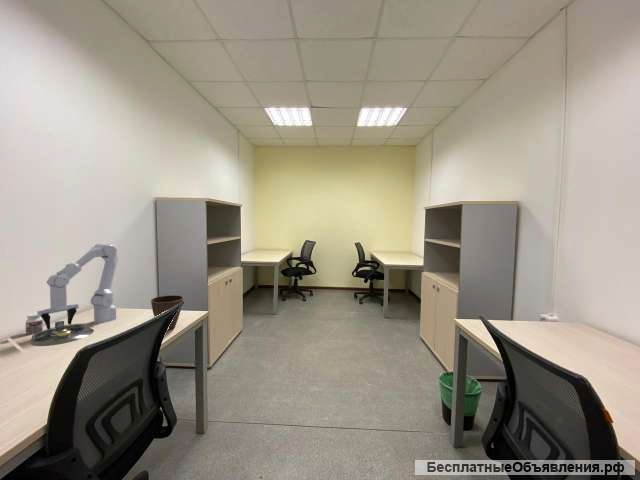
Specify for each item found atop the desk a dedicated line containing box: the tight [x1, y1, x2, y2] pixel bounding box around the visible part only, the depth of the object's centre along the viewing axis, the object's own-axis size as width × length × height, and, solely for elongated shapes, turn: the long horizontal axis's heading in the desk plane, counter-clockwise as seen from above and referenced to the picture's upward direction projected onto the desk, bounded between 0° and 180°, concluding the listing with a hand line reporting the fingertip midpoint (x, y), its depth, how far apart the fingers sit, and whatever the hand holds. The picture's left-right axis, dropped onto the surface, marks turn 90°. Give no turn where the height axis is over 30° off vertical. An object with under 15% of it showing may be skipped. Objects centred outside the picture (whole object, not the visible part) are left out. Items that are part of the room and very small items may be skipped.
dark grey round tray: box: [30, 322, 95, 347], centre depth 129 cm, size 22×22×3 cm
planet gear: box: [52, 320, 67, 335], centre depth 132 cm, size 6×6×6 cm
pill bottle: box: [25, 312, 44, 336], centre depth 133 cm, size 6×6×10 cm
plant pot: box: [150, 294, 184, 331], centre depth 144 cm, size 15×15×16 cm
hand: (59, 326), depth 132 cm, fingers open, 7 cm apart
